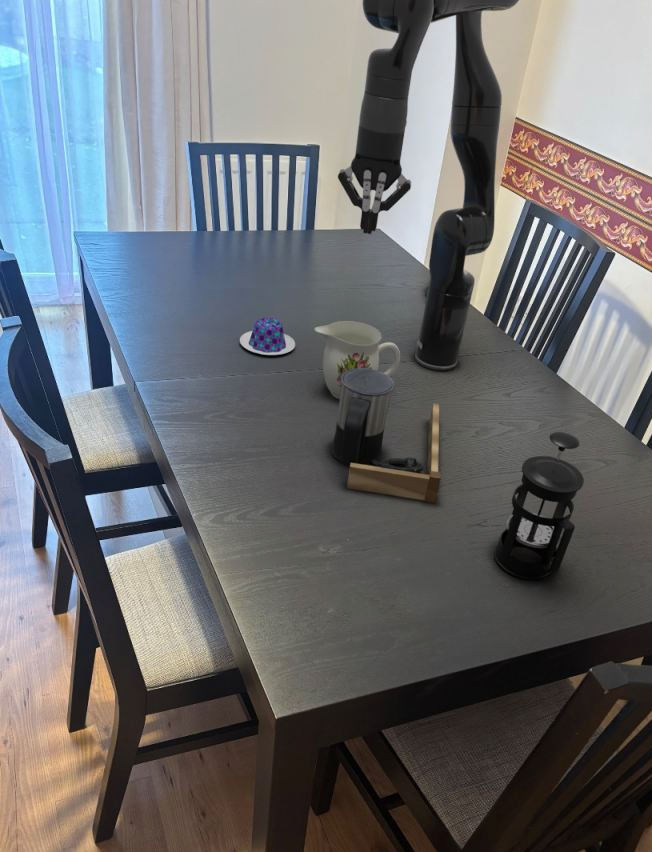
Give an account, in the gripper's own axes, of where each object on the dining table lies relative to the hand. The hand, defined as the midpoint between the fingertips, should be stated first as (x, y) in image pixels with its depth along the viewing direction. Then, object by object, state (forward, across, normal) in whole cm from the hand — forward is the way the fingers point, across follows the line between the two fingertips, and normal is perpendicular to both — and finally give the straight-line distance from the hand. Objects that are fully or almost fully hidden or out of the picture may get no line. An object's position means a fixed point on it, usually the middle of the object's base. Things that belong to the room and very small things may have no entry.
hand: (367, 232), depth 137 cm
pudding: (+33, -19, +17) cm, 42 cm away
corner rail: (+33, +11, -18) cm, 39 cm away
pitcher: (+33, +1, +2) cm, 33 cm away
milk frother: (+33, +8, -21) cm, 40 cm away
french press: (+33, +33, -43) cm, 64 cm away
